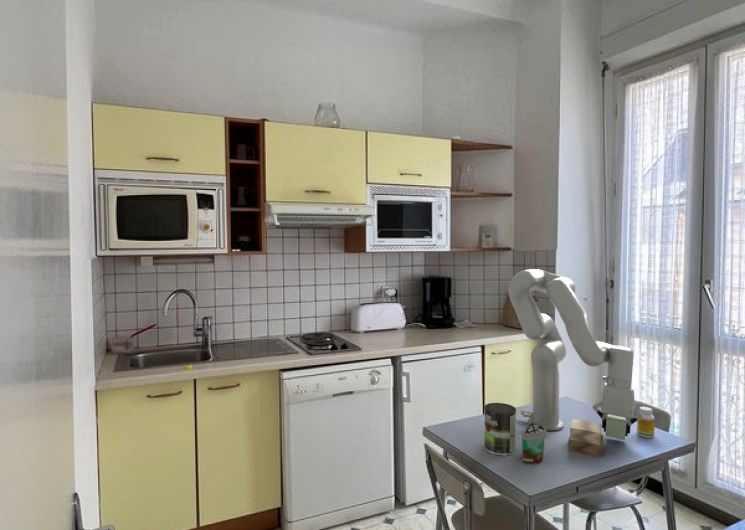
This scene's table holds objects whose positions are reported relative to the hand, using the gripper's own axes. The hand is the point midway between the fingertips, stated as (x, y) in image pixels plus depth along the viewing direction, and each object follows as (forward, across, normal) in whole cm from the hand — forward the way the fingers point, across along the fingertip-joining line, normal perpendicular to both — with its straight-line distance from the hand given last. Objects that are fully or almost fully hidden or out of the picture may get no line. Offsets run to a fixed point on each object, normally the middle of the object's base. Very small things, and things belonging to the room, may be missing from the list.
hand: (615, 432), depth 159 cm
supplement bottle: (+3, +10, +11) cm, 15 cm away
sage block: (+1, 0, 0) cm, 1 cm away
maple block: (0, -9, -11) cm, 14 cm away
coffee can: (+5, -34, -26) cm, 43 cm away
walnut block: (+4, -8, -11) cm, 15 cm away
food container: (+4, -22, -28) cm, 36 cm away
